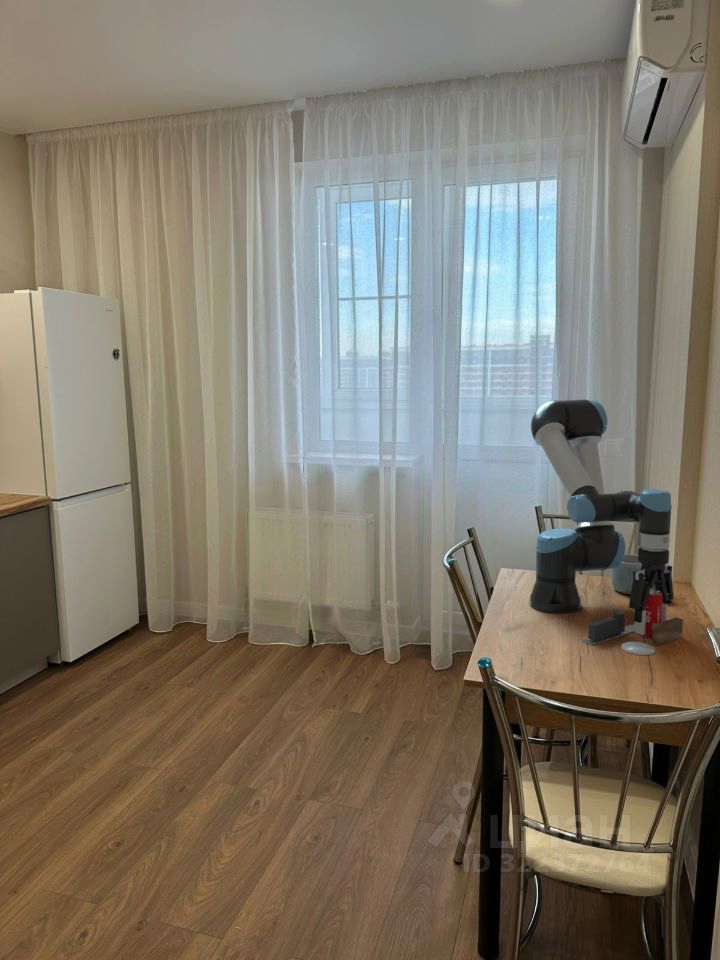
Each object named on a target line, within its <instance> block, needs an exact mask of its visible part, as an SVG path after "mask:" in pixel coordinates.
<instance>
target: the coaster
mask: <svg viewBox="0 0 720 960" xmlns="http://www.w3.org/2000/svg"><path fill="white" fill-rule="evenodd" d="M621 649H622V651H624V652H626V653H629V654H632V655H636V656H651V655H654V654H655V653H656V648H655V647H654V646H653V645H651V644H648V643H645V642H642V641H641V642H639V641H627V642H624V643H622V644H621Z"/></svg>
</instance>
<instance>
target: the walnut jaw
mask: <svg viewBox="0 0 720 960" xmlns="http://www.w3.org/2000/svg"><path fill="white" fill-rule="evenodd" d="M683 625H684V619H683V618H680V617H673V618H669V619H667V620H666V621H663V622H660V623H657V624H654V625H653V634H652V638H651V639H652V643H651V644H653V645H657V646H663V645H664V644H667V643H670V642H672V641H676V640H678V639H682V638H683V628H684V627H683Z"/></svg>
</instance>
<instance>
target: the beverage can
mask: <svg viewBox="0 0 720 960" xmlns="http://www.w3.org/2000/svg"><path fill="white" fill-rule="evenodd" d="M644 610H645V611H646V622H645V635H642V636H644V637H646V638H651V639H652V634H653V625H654V624H657V623H660V622H661V620H662V592H660V591H658V590H653V589H650V592H649V595H648V598H647V601H646V604H645V607H644Z"/></svg>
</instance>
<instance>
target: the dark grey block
mask: <svg viewBox="0 0 720 960" xmlns="http://www.w3.org/2000/svg"><path fill="white" fill-rule="evenodd" d="M625 627H626V612H623V611H620V610H614V611H612V614H611V616H610V617H607V618H604V619H600V620H597V621H596V620H595V621H593V622H590V623H588V636H587V637H588V638H589V639H592V640H594V641H595V640H598V639H601V638H604V637H607V636H610V635H613V634H616V633H622V632H625ZM588 638H587V639H588Z"/></svg>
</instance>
